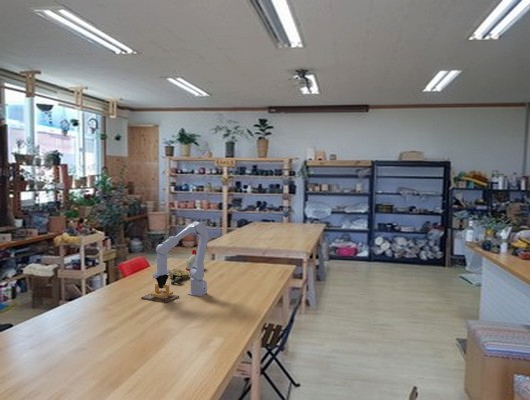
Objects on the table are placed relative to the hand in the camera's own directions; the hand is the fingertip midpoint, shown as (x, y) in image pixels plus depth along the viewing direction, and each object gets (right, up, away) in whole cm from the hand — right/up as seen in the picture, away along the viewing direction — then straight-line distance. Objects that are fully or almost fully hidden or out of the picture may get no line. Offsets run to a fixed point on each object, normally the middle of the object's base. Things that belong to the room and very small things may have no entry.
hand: (161, 287), depth 235 cm
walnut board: (-1, -6, +1) cm, 6 cm away
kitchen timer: (+6, -3, +78) cm, 78 cm away
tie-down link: (0, -4, 0) cm, 4 cm away
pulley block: (0, -5, +45) cm, 45 cm away
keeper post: (0, -6, 0) cm, 6 cm away
